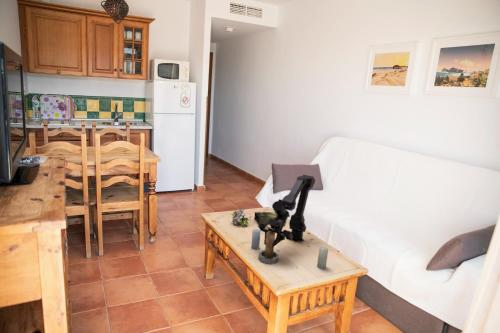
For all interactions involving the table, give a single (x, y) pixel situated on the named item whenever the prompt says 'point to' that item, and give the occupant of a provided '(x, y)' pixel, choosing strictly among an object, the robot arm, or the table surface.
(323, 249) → the grey-green peg
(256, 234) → the slate-blue peg
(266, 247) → the walnut peg
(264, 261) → the steel ring
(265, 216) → the dark olive boxy piece
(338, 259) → the table surface
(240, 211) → the green succulent plant
